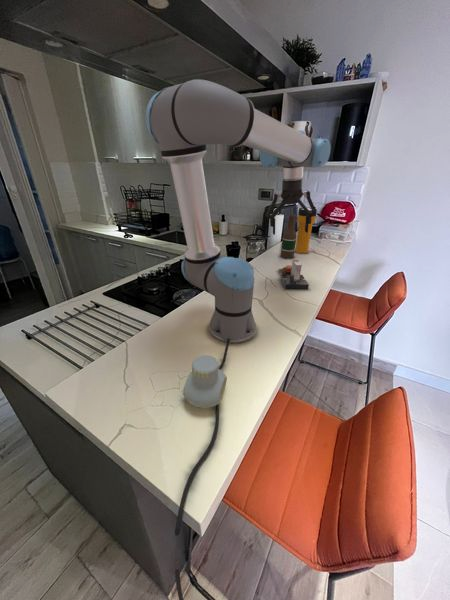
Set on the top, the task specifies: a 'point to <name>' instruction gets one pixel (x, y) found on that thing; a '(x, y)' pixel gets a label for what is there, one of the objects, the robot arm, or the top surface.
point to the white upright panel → (295, 270)
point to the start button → (288, 268)
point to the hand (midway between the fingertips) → (289, 232)
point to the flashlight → (303, 231)
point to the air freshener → (205, 383)
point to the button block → (284, 271)
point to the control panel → (294, 283)
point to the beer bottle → (289, 239)
